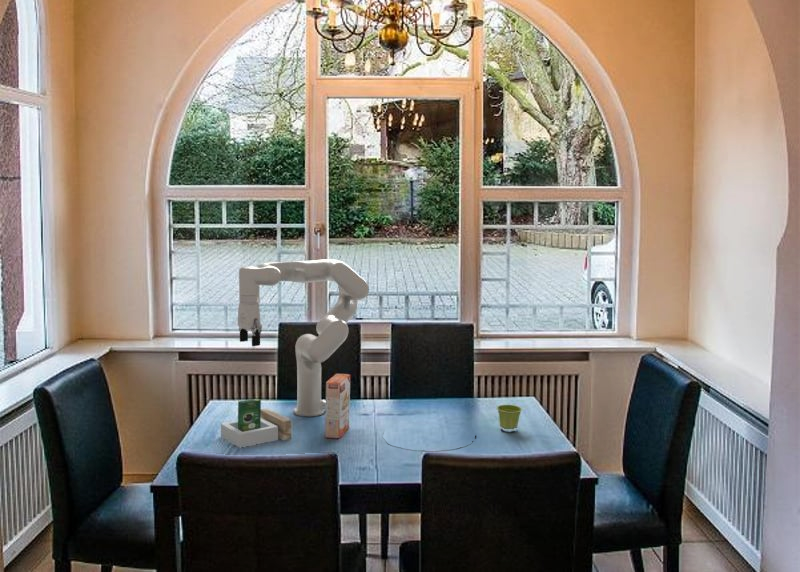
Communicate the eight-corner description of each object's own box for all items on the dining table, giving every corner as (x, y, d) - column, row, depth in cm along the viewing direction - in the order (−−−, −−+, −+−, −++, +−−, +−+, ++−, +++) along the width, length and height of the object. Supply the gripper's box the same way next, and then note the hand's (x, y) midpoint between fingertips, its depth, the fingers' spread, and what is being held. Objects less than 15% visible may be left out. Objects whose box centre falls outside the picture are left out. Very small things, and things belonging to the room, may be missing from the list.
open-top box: (257, 429, 302) (257, 416, 302) (278, 440, 291) (277, 426, 290) (220, 436, 293) (220, 423, 292) (240, 448, 281) (239, 434, 281)
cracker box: (340, 439, 293) (340, 383, 290) (324, 438, 294) (324, 381, 291) (350, 427, 306) (351, 373, 303) (335, 426, 307) (335, 372, 304)
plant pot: (524, 428, 308) (525, 406, 307) (516, 435, 300) (517, 413, 299) (500, 425, 312) (501, 403, 311) (492, 432, 304) (493, 409, 302)
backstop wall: (266, 426, 306) (266, 408, 305) (291, 438, 292) (291, 420, 291) (259, 427, 304) (259, 409, 303) (284, 440, 290) (283, 421, 289)
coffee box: (257, 432, 296) (257, 397, 294) (261, 434, 293) (261, 399, 291) (237, 436, 291) (237, 401, 289) (241, 438, 288) (240, 403, 287)
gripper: (229, 297, 311) (230, 340, 313) (251, 303, 297) (251, 348, 300) (247, 295, 316) (248, 338, 318) (269, 301, 302) (269, 346, 304)
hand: (249, 343), depth 309 cm, fingers open, 9 cm apart
